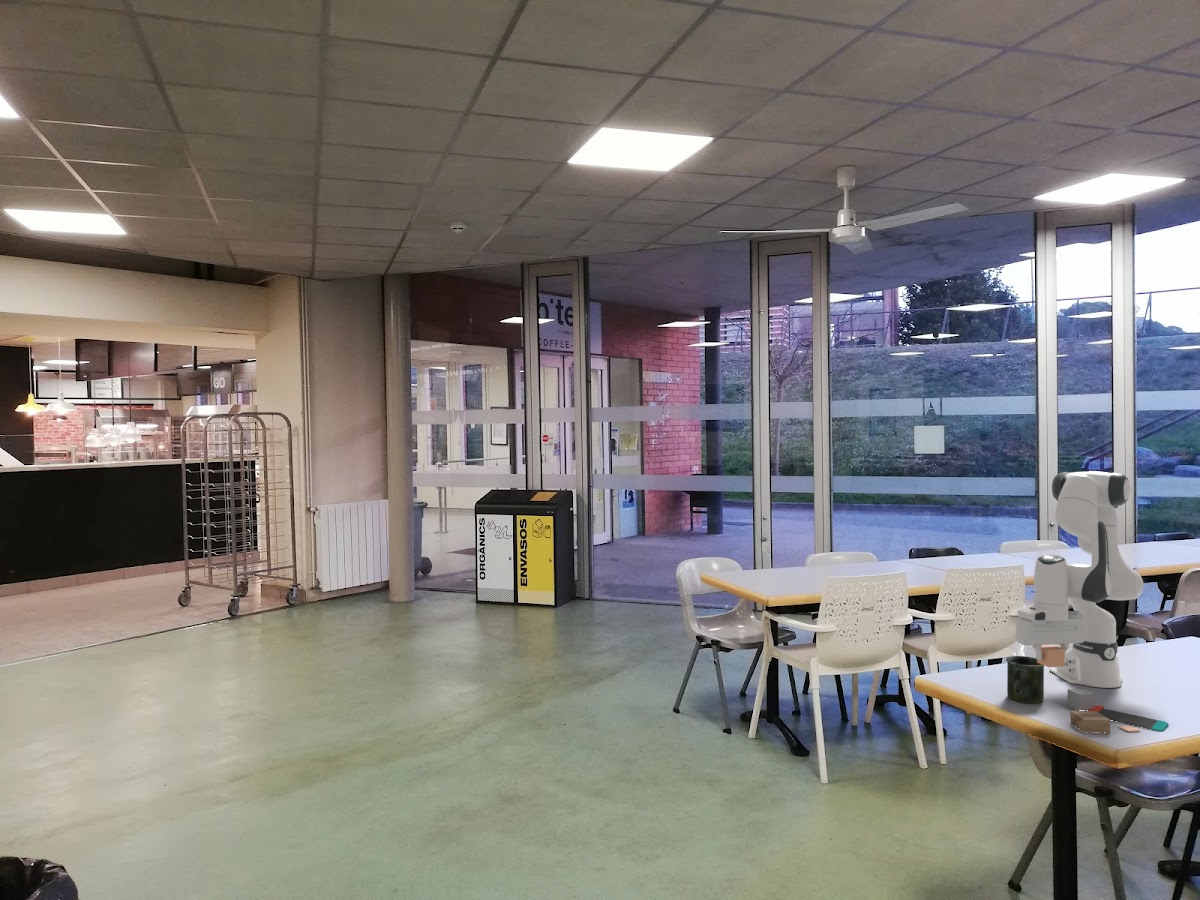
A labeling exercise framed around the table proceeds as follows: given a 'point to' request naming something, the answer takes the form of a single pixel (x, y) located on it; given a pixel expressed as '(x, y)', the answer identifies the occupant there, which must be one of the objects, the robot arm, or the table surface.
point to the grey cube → (1081, 699)
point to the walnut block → (1090, 721)
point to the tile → (1129, 728)
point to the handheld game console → (1131, 719)
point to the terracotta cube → (1052, 656)
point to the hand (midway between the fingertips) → (1050, 658)
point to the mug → (1025, 679)
